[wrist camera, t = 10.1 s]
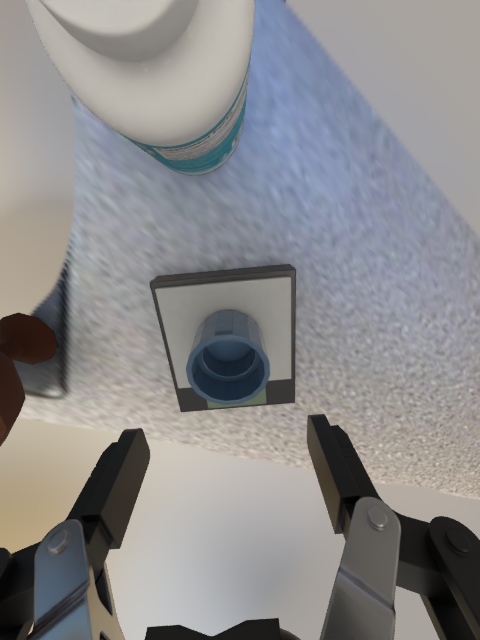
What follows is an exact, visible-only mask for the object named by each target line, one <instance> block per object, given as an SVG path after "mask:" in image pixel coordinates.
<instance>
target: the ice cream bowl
mask: <svg viewBox="0 0 480 640" xmlns="http://www.w3.org/2000/svg"><path fill="white" fill-rule="evenodd" d="M57 347H58V345H57V342H56V339H55V336H54V333H53V331H52V330H51V329H50V328H49V327H48V326H47V325H45V324H44V323H43V322H42V321H41V320H40V319H39V318H36V317H33V316H29V315H25V314H21V313H16V314H12V315H9V316H6V317H3V318H2V319H1V320H0V446H1V445H2V443H3V442H4V441H5V439H6V437H7V436H8V434H9V432H10V430H11V428H12V426H13V424H14V422H15V421H16V419H17V417H18V415H19V413H20V411H21V408H22V406H23V403H24V401H25V394H24V389H23V385H22V382H21V380H20V377H19V375H18V373H17V370H16V368H15V365H14V363H13V361H12V360H13V359H14V360H17V361H21V362H25V363H29V364H35V363H38V362H42V361H45V360H48V359H51V358H52V357H53V355H54V353H55V351H56V349H57Z"/></svg>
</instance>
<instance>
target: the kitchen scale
mask: <svg viewBox="0 0 480 640" xmlns="http://www.w3.org/2000/svg"><path fill="white" fill-rule="evenodd" d="M150 286H151V291H152V295H153V299H154V303H155V307H156V311H157V315H158V319H159V324H160V328H161V332H162V336H163V340H164V344H165V348H166V352H167V357H168V361H169V365H170V369H171V373H172V377H173V381H174V386H175V390H176V394H177V398H178V402H179V406H180V410H181V412H190V411H202V410H214V409H225V408H237V407H249V406H261V405H273V404H285V403H295V308H296V269H295V268H294V267H292V266H291V265H290V264H286V265H275V266H264V267H254V268H243V269H232V270H221V271H210V272H199V273H188V274H177V275H166V276H157V277H156V278H155V279H153V280H152V281H151V282H150ZM231 310H232V311H237V312H240V313H244V314H246V315H248V316H249V317H250V318H252V319H253V320H254V321H255V322H256V323H257V324H258V326H259V328H260V329H261V331H262V333H263V338H264V342H265V346H266V349H267V353H268V357H269V362H270V377H269V379H268V381H267V384H266V386H265V388H264V389H263V390H262V391H261V392H260V393H259V394H258V395H257V396H256V397H255V398H253V399H250V400H248V401H246V402H243V403H241V404H232V405H222V404H218V403H213V402H210V401H208V400H206V399H204V398H203V397H201V396H200V395H198V394H197V393H196V392H195V391H194V389H193V388H192V387H191V385H190V384H189V382H188V378H187V373H186V365H187V361H188V358H189V354H190V351H191V348H192V345H193V342H194V339H195V336H196V332H197V329H198V327H199V326H200V325H201V324H202V322H203V321H204V320H205V319H206V318H207V317H209V316H211V315H213V314H215V313H217V312H220V311H231Z"/></svg>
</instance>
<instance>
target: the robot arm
mask: <svg viewBox="0 0 480 640" xmlns="http://www.w3.org/2000/svg"><path fill="white" fill-rule="evenodd" d="M307 444H308V449H309V453H310V456H311V459H312V462H313V465H314V469H315V472H316V475H317V478H318V481H319V485H320V488H321V491H322V494H323V497H324V500H325V504H326V507H327V510H328V513H329V517H330V520H331V523H332V526H333V529H334V532H335V534H341V533H343V535H344V538H345V540H346V543H345V547H344V550H343V554H342V558H341V562H340V566H339V568H338V571H337V575H336V579H335V582H334V586H333V590H332V594H331V597H330V601H329V605H328V609H327V613H326V617H325V621H324V625H323V628H322V632H321V636H320V640H394V632H395V609H394V599H395V589H396V586H399V587H402V588H405V589H407V590H410V591H413V592H416V593H418V594H420V596H421V598H422V601H423V603H424V605H425V607H426V610H427V612H428V614H429V617H430V619H431V621H432V623H433V625H434V628H435V630H436V632H437V634H438V637H439V639H440V640H480V540H479V539H478V538H477V536H476V535H475V534H474V533H473V532H472V531H470V530H469V529H468V528H467V527H466V526H464V525H463V524H461V523H460V522H458V521H456V520H454V519H451V518H448V517H444V516H439V517H435V518H434V519H432V521H431V522H430V523H428V522H424V521H420V520H417V519H413V518H410V517H406V516H404V515H401V514H399V513H397V512H395V511H394V510H392V509H391V508H390V507H389V506H388V505H387V504H385V503H384V502H383V501H382V499H381V498H380V497H379V495H378V493H377V492H376V490H375V488H374V486H373V484H372V482H371V480H370V478H369V476H368V474H367V472H366V470H365V468H364V466H363V464H362V462H361V460H360V458H359V457H358V454H357V452H356V450H355V449H354V448H353V445H352V443H351V441H350V439H349V437H348V435H347V434H346V433H345V432H344V431H343V430H342V429H341V428H340V427H339V426H338V425H334V426H330V424H329V422H328V420H327V418H326V416H325V415H324V414H318V415H308V422H307ZM149 460H150V449H149V446H148V444H147V441H146V438H145V435H144V432H143V430H142V429H141V428H138V429H126V430H124V431H123V432H122V434H121V436H120V438H119V440H118V442H114V443H112V444H111V445H110V446H109V447H108V448H107V449H106V450H105V451H104V452H103V453H102V455H101V457H100V458H99V460H98V462H97V464H96V467H95V468H94V470H93V471H92V473H91V476H90V477H89V479H88V481H87V482H86V484H85V486H84V488H83V489H82V492H81V493H80V495H79V497H78V499H77V500H76V502H75V504H74V506H73V508H72V510H71V511H70V513H69V515H68V517H67V518H66V520H65V521H64V522H61V523H60V524H58V525H57V526H55V527H54V528H53V529H52V530H51V531H50V532H48V533H47V535H46V536H45V537H44V538H43V540H42V541H40V542H38V543H36V544H34V545H31V546H29V547H27V548H24V549H22V550H19V551H17V552H15V553H13V554H10V552H9V551H8V550H7V549H5V548H0V640H125V638H124V635H123V632H122V630H121V627H120V625H119V622H118V618H117V614H116V610H115V605H114V600H113V595H112V590H111V585H110V580H109V575H108V570H107V566H106V562H105V560H106V557H107V554H108V552H109V549H120V547H121V544H122V541H123V538H124V535H125V532H126V529H127V526H128V523H129V520H130V517H131V514H132V511H133V508H134V505H135V502H136V499H137V497H138V493H139V491H140V488H141V484H142V482H143V479H144V476H145V473H146V470H147V467H148V464H149ZM33 622H34V626H33V630H32V632H31V633H30V634H29V635H28V633H29V631H30V629H31V627H32V624H33ZM145 640H300V639H299V638H298V637H296V636H295V635H293V634H292V633H290V632H288V631H286V630H283V629H281V628H280V627H279V619H278V618H275V619H259V620H246V621H244V622H242V623H240V624H238V625H236V626H234V627H232V628H230V629H228V630H226V631H224V632H222V633H220V634H218V635H215V636H207V635H205V634H202V633H199V632H197V631H194V630H191V629H189V628H186V627H183V626H181V625H173V626H157V627H148V628H147V632H146V637H145Z"/></svg>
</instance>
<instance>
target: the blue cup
mask: <svg viewBox="0 0 480 640" xmlns="http://www.w3.org/2000/svg"><path fill="white" fill-rule="evenodd" d="M186 373H187V378H188V382H189V384H190V385H191V387H192V388H193V389H194V391H195V392H196V393H197V394H198V395H200V396H201V397H203V398H204V399H206V400H208V401H210V402H213V403H218V404H222V405H232V404H241V403H243V402H246V401H248V400H250V399H253V398H255V397H256V396H257V395H258V394H259V393H260V392H261V391H262V390H263V389H264V388H265V386H266V384H267V381H268V379H269V377H270V362H269V357H268V353H267V349H266V346H265V342H264V338H263V333H262V331H261V329H260V328H259V326H258V324H257V323H256V322H255V321H254V320H253V319H252V318H250V317H249V316H248V315H246V314H244V313H240V312H237V311H232V310H231V311H220V312H217V313H215V314H213V315H211V316H209V317H207V318H206V319H205V320H204V321H203V322H202V324H201V325H200V326H199V327H198V329H197V332H196V336H195V339H194V342H193V345H192V348H191V351H190V354H189V358H188V361H187V365H186Z"/></svg>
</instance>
